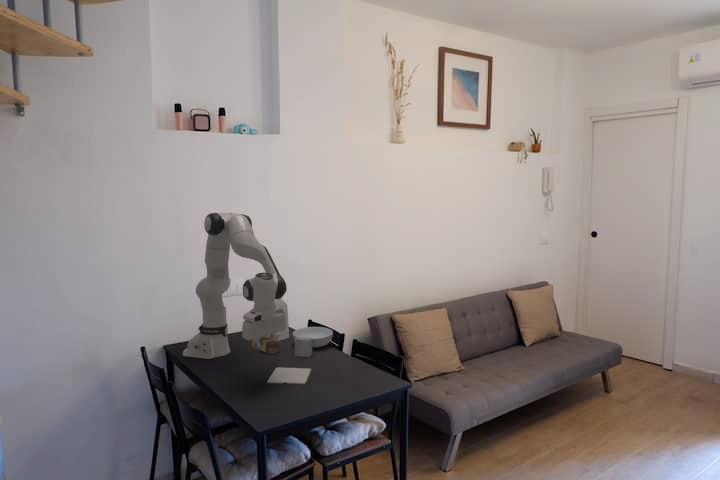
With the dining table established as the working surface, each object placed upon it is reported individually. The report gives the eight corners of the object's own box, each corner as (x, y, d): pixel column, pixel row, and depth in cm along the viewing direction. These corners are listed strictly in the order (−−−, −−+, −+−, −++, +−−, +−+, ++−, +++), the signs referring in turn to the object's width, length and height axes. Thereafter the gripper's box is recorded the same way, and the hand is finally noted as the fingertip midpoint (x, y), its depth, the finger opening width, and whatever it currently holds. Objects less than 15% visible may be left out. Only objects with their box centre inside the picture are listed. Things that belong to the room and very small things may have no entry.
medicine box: (312, 354, 241) (312, 337, 240) (310, 357, 237) (310, 340, 236) (296, 353, 242) (296, 336, 241) (294, 356, 238) (294, 339, 237)
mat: (267, 382, 207) (267, 381, 206) (276, 368, 222) (276, 367, 222) (304, 384, 205) (304, 382, 205) (311, 369, 221) (311, 368, 221)
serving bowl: (306, 336, 269) (306, 324, 268) (340, 342, 260) (340, 329, 259) (284, 347, 251) (284, 334, 250) (319, 354, 241) (319, 341, 241)
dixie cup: (271, 355, 239) (271, 335, 238) (259, 352, 243) (258, 332, 242) (283, 350, 246) (282, 331, 245) (270, 347, 250) (270, 328, 249)
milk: (289, 337, 267) (289, 290, 264) (272, 342, 259) (271, 294, 256) (275, 333, 275) (275, 287, 272) (258, 337, 267) (258, 290, 264)
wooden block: (252, 347, 205) (252, 337, 205) (260, 344, 208) (259, 335, 208) (270, 353, 197) (270, 344, 197) (278, 351, 200) (278, 341, 200)
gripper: (279, 306, 211) (279, 337, 213) (239, 316, 196) (240, 349, 197) (289, 309, 207) (289, 341, 208) (249, 319, 191) (249, 353, 193)
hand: (265, 345), depth 203 cm, fingers closed on wooden block, 4 cm apart
